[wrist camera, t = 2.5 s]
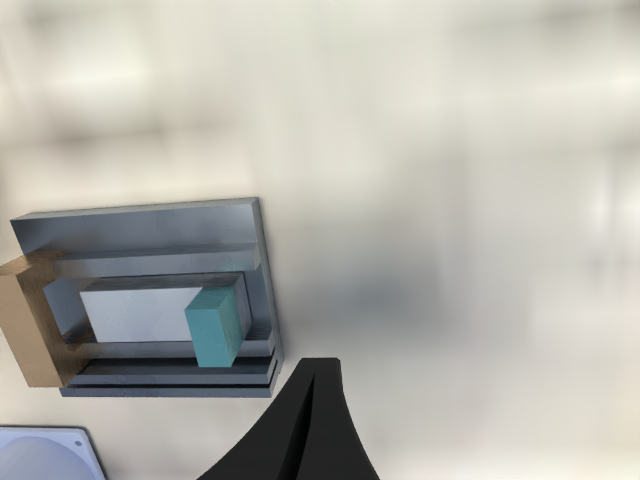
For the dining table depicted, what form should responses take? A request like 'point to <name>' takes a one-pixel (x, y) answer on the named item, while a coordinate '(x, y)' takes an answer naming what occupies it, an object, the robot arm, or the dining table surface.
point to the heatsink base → (135, 261)
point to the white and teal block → (173, 312)
